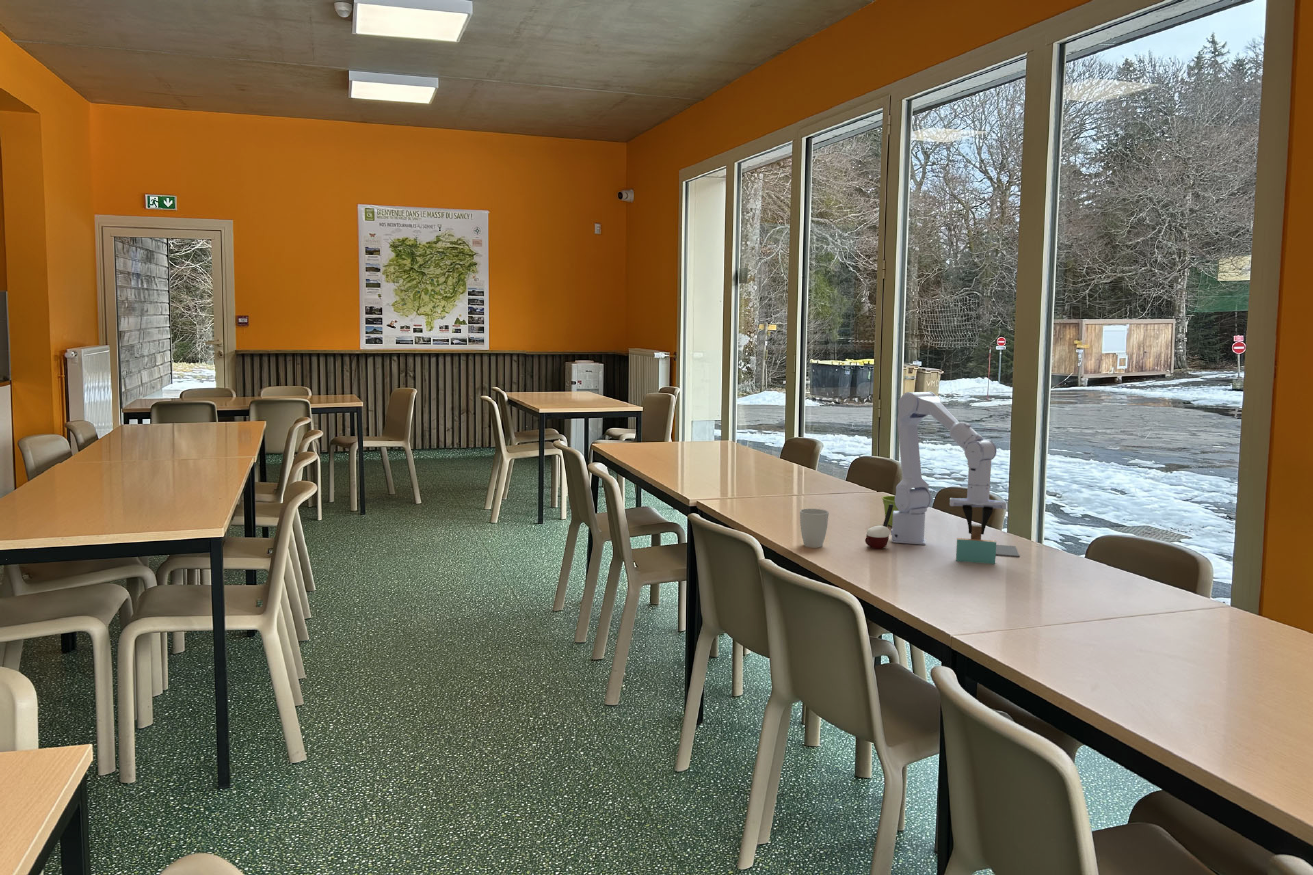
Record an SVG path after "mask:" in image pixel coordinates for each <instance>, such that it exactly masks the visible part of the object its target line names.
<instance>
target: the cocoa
mask: <svg viewBox="0 0 1313 875" xmlns="http://www.w3.org/2000/svg"><path fill="white" fill-rule="evenodd" d="M892 509H893V504H889V507H888V510H887V513H886V517H885V516H884V521H883V524H882V525H874V526H872V527H870V528H868V529H867V530H866V537H865V538H864V542H865V544H866V545H867V546H868V547H870V548H871V549H874V550H875V549H876V550H882V549H884V548H886V547H887V546H888V543H889V537H890V535H891V530H890V529H889V527H888V526H889V525H888V522H889V519H890V515H891V512H892Z"/></svg>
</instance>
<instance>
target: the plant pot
mask: <svg viewBox="0 0 1313 875" xmlns="http://www.w3.org/2000/svg"><path fill="white" fill-rule="evenodd" d="M881 499H882V502H883V507H884V510H883V511H884V518H885V517H886V513H887V510H888V507H889V504H893V509H892V512H891V515H890V519H889V522H888V525H887V526H891V527H892V522H893V511H898V508H897V507H896V504H895V495H886V496H885V495H884V496H882V497H881Z"/></svg>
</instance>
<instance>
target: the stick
mask: <svg viewBox="0 0 1313 875" xmlns="http://www.w3.org/2000/svg"><path fill="white" fill-rule="evenodd" d="M981 531H982V526H981V524H975V523H972V534H970V539H979V540H982V534H981Z"/></svg>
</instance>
